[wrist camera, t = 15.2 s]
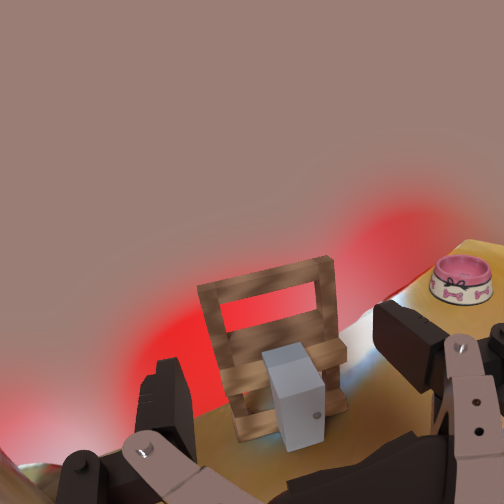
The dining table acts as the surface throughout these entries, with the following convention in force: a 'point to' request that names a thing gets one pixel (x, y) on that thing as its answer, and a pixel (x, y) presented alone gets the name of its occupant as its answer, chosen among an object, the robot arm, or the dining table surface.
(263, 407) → the dining table surface
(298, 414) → the cabinet
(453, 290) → the dog bowl
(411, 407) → the dining table surface
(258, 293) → the rack
